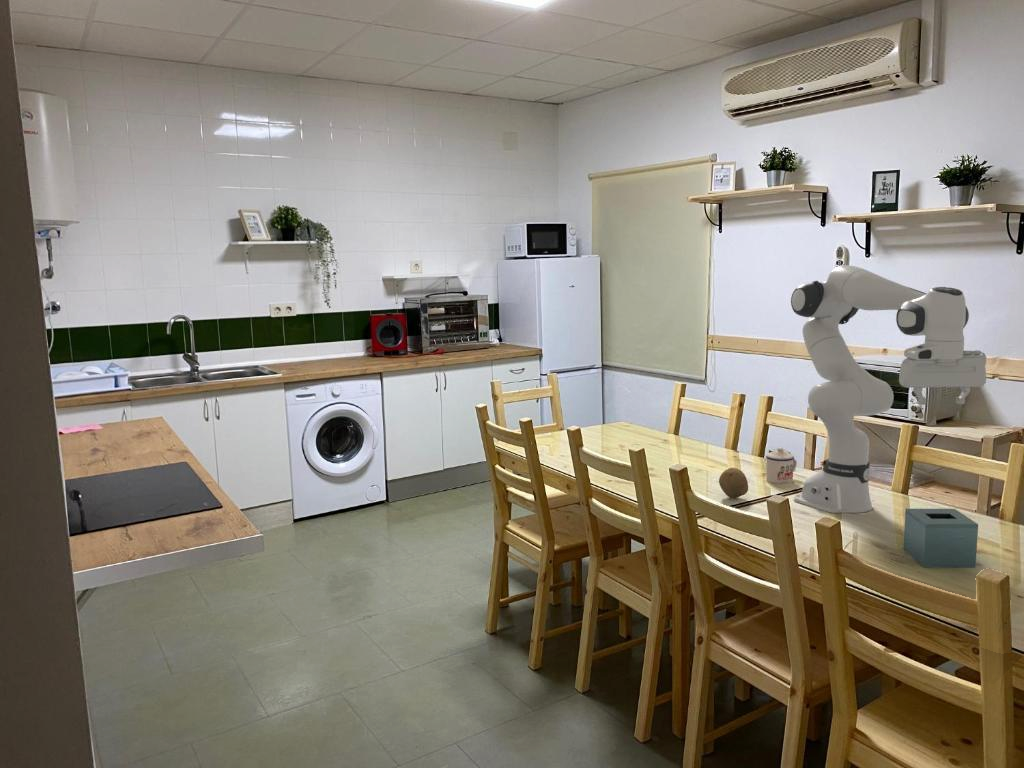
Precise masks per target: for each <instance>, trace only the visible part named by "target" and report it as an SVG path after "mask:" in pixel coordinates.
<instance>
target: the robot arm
mask: <svg viewBox="0 0 1024 768" xmlns="http://www.w3.org/2000/svg"><path fill="white" fill-rule="evenodd" d="M790 305H791V308H792V310H793V313H795V314H796V315H797V316H799V317H804V318H809V319H808V320H806V322H805V323H804V324H803V327H802V336H803V341H804V344H805V347H806V350H807V353H808V354H809V357H810V359H811V361H812V364H813V367H814V368H815V370H816V372H817V374H818V375H819V376H820V377H821V378H822V379H825V380H827V381H826V382H822V383H818V384H815V385H814V386H812V387H811V388H810V391H809V393H808V396H807V403H808V407H809V410H810V411H811V413H812V414H814V416H815V417H817V418H818V419H819V420H820V421H821V422H822V423H823V425H824V426H825V428H826V431H827V436H828V458H826V459H825V460H823V461H820V464H819V465H820V467H822V466H823V468H822V470H820V471H818V472H817V473H815V474H814V475H812V476H811V477H809V478H807V479H806V480H805V481H804V483H803V485H802V490H801V492H798V493H797V494H795V495H794V498H793V501H794V502H796V503H801V504H803V505H806V506H810V507H813V508H817V509H819V510H821V511H825V512H829V513H833V514H835V513H836V514H837V513H848V514H849V513H850V514H851V513H853V514H855V513H866V512H870V511H871V510H873V505H872V502H871V495H870V489H869V488H870V487H869V480H870V476H871V473H870V472H871V469H870V467H871V466H870V465H871V463H870V462H869V452H870V438H869V437H868V435H867V433H865V432H864V431H863V430H861V429H859V428H857V427H856V425H855V421H854V418H855V417H864V416H865V417H867V416H868V417H869V416H876V415H878V414H882V413H884V412H887V411H888V410H890V409H891V407H892V406H893V403H894V397H895V396H894V392H893V389H892V387H891V386H890V384H889V383H888V382H887V381H884V380H882V379H880V378H877V377H875V376H873V375H872V373H871V374H870V373H869V372H868V371H867V370H866V369H864V368H863V366H862V365H860V364H859V363H858V362H857V361H856V359H855V358H854V356H853V355H852V352H851V351H850V349H849V347H848V345H847V344H846V342H845V339H844V338H843V336H842V334H841V331H840V328H839V326H840V325H844V324H847V323H848V322H849V321H850V319H852V318H854V317H855V315H856V314H857V313H858V312H859V310H863V311H889V310H890V311H891V310H892V311H896V310H897V312H896V315H895V321H896V325H897V328H898V330H899V331H900V332H901V333H902V334H904V335H907V336H913V337H916V336H917V337H918V336H925V337H924V343H922V344H919V345H915V346H912V347H909V348H906V349H905V350H904V352H903V356H904V357H905V358H904V360H902V362H901V364H900V369H899V375H898V376H899V377H898V383H899V384H900V386H902V387H903V388H911V389H912V388H913V392H914V394H915V396H916V397H917V404H918V405H920V406H921V405H927V397H925V396H923V395H922V392H923V388H960V390H961V393H960V394H959V396H955V404H957V405H965V403H966V397H967V396H968V395H969V394H970V392H971V387H972V388H977V387H984V386H985V385H986V383H987V370H986V364H987V355H986V354H985V353H984V352H982V351H981V350H964V349H965V336H964V329H965V327H966V325H967V324H968V322H969V318H970V314H969V310H968V307H967V305H966V298H965V294H964V292H963V291H961V290H960V289H958V288H954V287H947V286H936V287H933V288H930V289H929V290H928V292H927V293H926V292H923V291H921V290H917V289H915V288H912V287H909V286H906V285H903V284H902V283H898V282H895V281H893V280H890V279H887V278H886V277H883V276H881V275H879V274H876V273H874V272H872V271H869V270H867V269H865V268H862V267H859V266H854V265H848V264H842V265H838V266H837V267H834V269H832V270H831V272H829V274H828V277H827V279H826V281H822V282H819V281H818V280H814V281H811V282H805V283H803V284H801V285H798V286H797V287H796V288H795V289H794V290H793V292H792V294H791V298H790Z"/></svg>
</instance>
